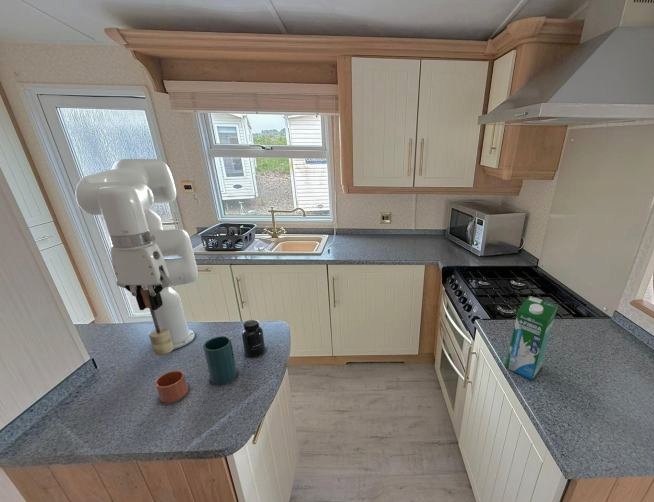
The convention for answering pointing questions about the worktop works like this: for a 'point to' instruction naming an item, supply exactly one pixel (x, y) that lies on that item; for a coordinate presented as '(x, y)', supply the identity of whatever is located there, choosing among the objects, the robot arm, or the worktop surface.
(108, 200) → the robot arm
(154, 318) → the brush
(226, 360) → the cup
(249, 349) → the supplement bottle
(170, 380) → the cup
